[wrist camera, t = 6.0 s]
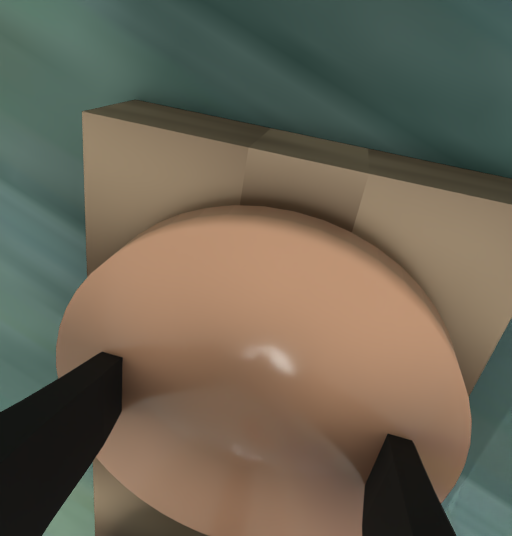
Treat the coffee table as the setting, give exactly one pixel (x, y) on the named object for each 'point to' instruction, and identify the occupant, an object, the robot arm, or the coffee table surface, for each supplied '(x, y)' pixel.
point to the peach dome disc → (266, 370)
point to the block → (305, 202)
